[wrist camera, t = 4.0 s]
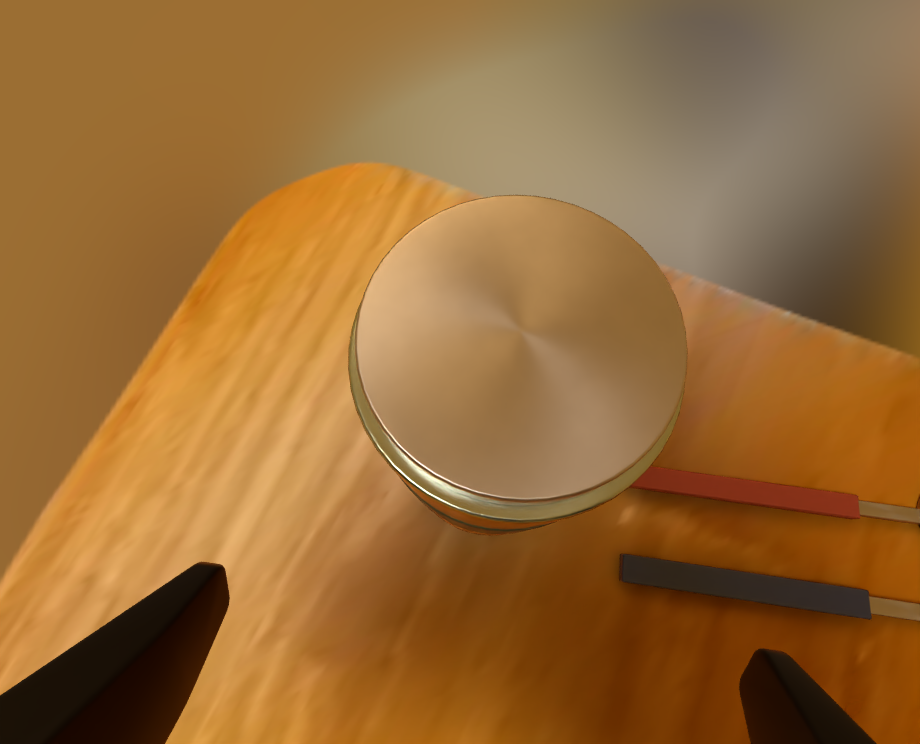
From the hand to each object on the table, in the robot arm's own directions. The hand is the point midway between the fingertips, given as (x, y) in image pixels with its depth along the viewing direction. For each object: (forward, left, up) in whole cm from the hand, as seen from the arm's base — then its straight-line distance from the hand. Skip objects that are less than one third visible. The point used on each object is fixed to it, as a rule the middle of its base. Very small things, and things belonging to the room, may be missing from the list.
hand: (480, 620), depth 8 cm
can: (+3, +3, -11) cm, 12 cm away
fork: (+11, -9, -11) cm, 18 cm away
